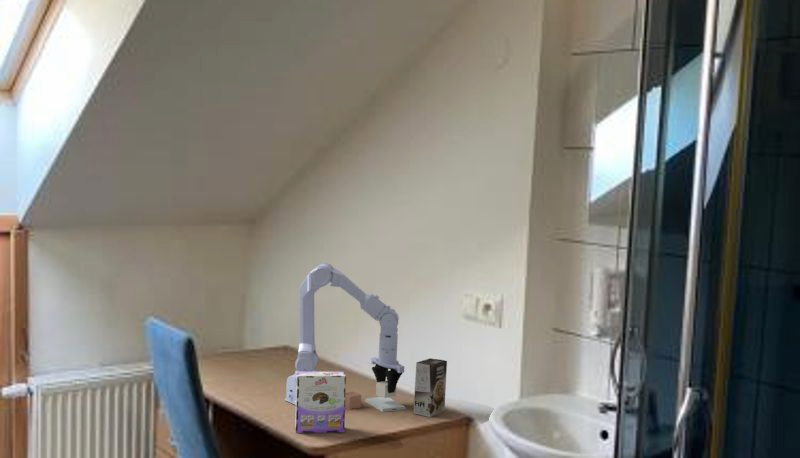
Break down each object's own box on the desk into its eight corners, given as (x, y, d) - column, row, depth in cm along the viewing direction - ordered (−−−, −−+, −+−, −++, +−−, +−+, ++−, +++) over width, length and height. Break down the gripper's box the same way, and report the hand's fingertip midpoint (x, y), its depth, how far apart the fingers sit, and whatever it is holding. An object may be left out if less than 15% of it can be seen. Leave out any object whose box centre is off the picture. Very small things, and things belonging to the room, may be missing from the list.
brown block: (349, 409, 263) (349, 396, 262) (340, 405, 266) (341, 393, 266) (360, 407, 266) (361, 394, 265) (352, 404, 269) (352, 391, 269)
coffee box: (430, 417, 257) (433, 365, 256) (412, 413, 261) (415, 362, 260) (445, 411, 265) (448, 360, 264) (427, 407, 268) (430, 357, 267)
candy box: (342, 426, 244) (344, 370, 243) (344, 433, 238) (346, 375, 237) (294, 427, 242) (296, 370, 241) (295, 433, 236) (297, 375, 235)
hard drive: (365, 398, 272) (382, 408, 261) (388, 396, 276) (406, 406, 265) (365, 403, 272) (382, 413, 261) (387, 401, 276) (405, 411, 265)
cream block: (384, 398, 265) (385, 385, 265) (375, 394, 268) (376, 382, 268) (395, 396, 268) (396, 383, 268) (386, 393, 271) (387, 380, 271)
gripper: (412, 351, 264) (410, 394, 265) (383, 342, 275) (382, 384, 276) (395, 353, 260) (393, 397, 261) (366, 344, 271) (364, 386, 272)
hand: (386, 390), depth 268 cm, fingers closed on cream block, 4 cm apart
